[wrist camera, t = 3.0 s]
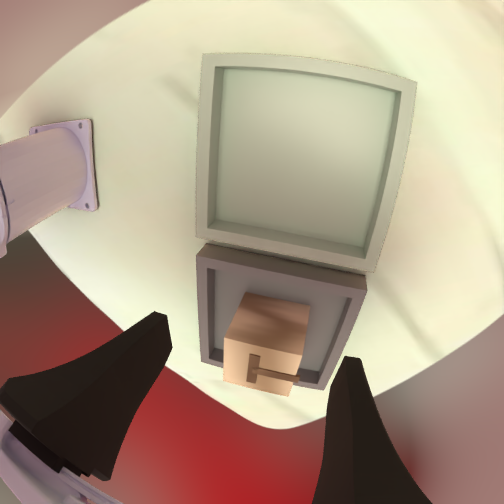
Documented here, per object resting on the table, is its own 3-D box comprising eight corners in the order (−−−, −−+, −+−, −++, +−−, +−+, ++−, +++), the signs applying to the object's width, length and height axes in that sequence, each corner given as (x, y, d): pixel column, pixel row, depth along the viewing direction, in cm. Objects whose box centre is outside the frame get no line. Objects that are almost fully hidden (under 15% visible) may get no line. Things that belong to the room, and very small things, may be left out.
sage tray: (206, 226, 20) (195, 237, 19) (214, 57, 14) (202, 53, 13) (370, 258, 18) (373, 272, 17) (408, 84, 12) (417, 81, 11)
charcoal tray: (207, 348, 27) (201, 361, 25) (206, 243, 21) (196, 255, 19) (325, 375, 25) (323, 390, 23) (365, 275, 19) (367, 290, 17)
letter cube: (241, 336, 24) (222, 381, 20) (245, 291, 22) (223, 338, 17) (301, 350, 23) (291, 398, 19) (314, 306, 21) (306, 357, 16)
